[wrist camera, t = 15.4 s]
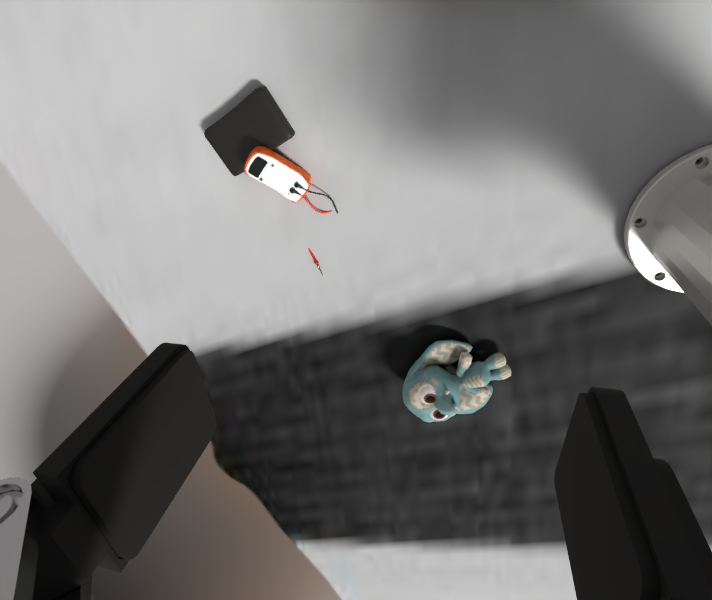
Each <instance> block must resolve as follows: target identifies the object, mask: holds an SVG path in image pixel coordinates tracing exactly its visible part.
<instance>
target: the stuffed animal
mask: <svg viewBox="0 0 712 600" xmlns="http://www.w3.org/2000/svg"><path fill="white" fill-rule="evenodd" d="M472 348H473V347H472V345H470V344H468V343H466V342H461V341H456V340H440V341H436V342H434V343H433V344H431V345H430V346H428V348H427V349H426V350H425V352H424V353H423V354H422V355H421V357H419V358H418V359H417V360H416V361H415V363H414V364H413V365H412V367H411V368H410V369H409V372H408V374H407V377H406V379H405V382H404V385H403V401H404V403H405V405H406V406H407V408H408V409H409V410H410V411H411V412H412V413H414V414H415V415H416V416H418V417H419V418H421V419H422V420H423V421H425V422H433V421H445V420H447V419H448V418H450V417H452V416H454V415H455V414H468V413H474V412H476V411H477V410H479V409H480V408H482V407H483V406H484V405H485V404H486V403H487V401H488V400H489V398H490V397H491V395H492V392H493V387H492V385H491V384H490V383H489V382H490V381H491V380H503V379H506V378H508V377H510V376H511V369H510V367H509V366H508V365H507V364H506V358H505V356H504V355H503V354H502V353H500V352H498V353H494V354H492V355H491V356H489V357H488V358H487V359H486V360H485V361H483V362H480V361H477V362H473V363H471V361H472V356H471V355H470V354H469V352H470V351H471V350H472ZM458 360H459V362H458V368H457V371H456V374H457V375H452V374H449V373H448V372H447V371H446V370H444V369H443V368H441V367H440V366H439V365H450V364H452V363H454V362H456V361H458ZM490 369H494V370H493V371H489V370H490Z"/></svg>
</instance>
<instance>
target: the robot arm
mask: <svg viewBox="0 0 712 600" xmlns="http://www.w3.org/2000/svg"><path fill="white" fill-rule="evenodd" d="M699 158H700V160H699V162H697V163H695V162H696V161H697V159H699ZM639 218H640V220H639V221H636V220H637V219H639ZM635 221H636V222H635ZM624 243H625V249H626V252H627V254H628V257H629V259H630V261H631V262H632V263H633V265H634V267H635V268H636V269H637V270H638V271H639V272H640V273H641V275H642V276H643V277H644V278H646V279H647V280H649V281H650V282H651V283H653V284H655V285H657V286H660V287H662V288H665V289H667V290H672V291H676V292H681V293H685V294H686V295H687V296H688V298H689V299H690V300H691V301H692V302H693V304H694V305H695V306H696V307H697V308H698V309H699V311H700V312H701V313H702V314H703V315H704V317H705V318H706V319H707V320H708V321H709V322H710V324H711V325H712V144H710V145H707V146H704V147H701V148H698V149H696V150H694V151H692V152H690V153H688V154H686V155H684V156H682V157H680V158H678V159H677V160H675V161H674V162H672V163H671V164H669V165H668V166H666V167H665V168H663V169H662V170H661V171H660V172H659V173H658V174H657V175H656V176H654V177H653V178H652V179H651V180H650V181H649V182H648V183H647V185H646V186H645V187H644V188H643V189H642V191H641V192H640V193H639V194H638V196H637V198H636V199H635V201H634V203H633V204H632V206H631V208H630V210H629V213H628V216H627V219H626V222H625V229H624ZM656 273H657V274H656ZM215 430H216V419H215V416H214V413H213V410H212V407H211V404H210V401H209V398H208V395H207V392H206V389H205V386H204V383H203V380H202V377H201V374H200V371H199V368H198V365H197V362H196V358H195V355H194V353H193V352H192V351H190V350H189V348H188V347H187V346H186V345H182V344H172V343H162V344H161V345H159V346H158V347H157V348H156V349H155V350H154V351H153V352H152V353H151V354H150V355H149V356H148V357H147V358H146V359H145V360H144V361H143V362H142V363H141V364H140V365H139V366H138V367H137V368H136V369H135V370H134V371H133V372H132V373H131V374H130V375H129V376H128V377H127V378H126V379H125V380H124V381H123V382H122V383H121V384H120V385H119V386H118V388H116V389H115V390H114V391H113V392H112V393H111V394H110V396H108V397H107V398H106V399H105V400H104V401H103V402H102V403H101V405H99V406H98V407H97V409H95V410H94V412H92V413H91V414H90V415H89V416H88V417H87V419H86V420H85V421H84V422H83V423H82V424H81V425H80V426H79V427H78V428H77V429H76V430H75V431H74V432H73V433H72V434H71V435H70V436H69V437H68V438H67V439H66V440H65V441H64V442H63V443H62V444H61V445H60V446H59V447H58V448H57V449H56V450H55V451H54V452H53V453H52V454H51V455H50V456H49V457H48V458H47V459H46V460H45V461H44V462H43V463H42V464H41V465H40V466H39V467H38V468H37V469H36V470H35V471H34V472H33V473H34V475H35V476H36V478H37V479H36V480H35V481H34V482H33V483H32V484H31V485H30V483H29V482H28V481H27V480H25V479H22V478H7V479H3V480H0V600H91V579H92V573H93V572H94V571H95V569H96V568H97V566H98V565H100V566H101V567H102V568H105V569H110V570H114V571H118V572H122V570H123V569H124V567H125V566H126V564H127V563H128V561H129V560H130V559H132V558H134V557H135V556H137V555H138V553H139V552H140V550H141V549H142V547H143V546H144V544H145V543H146V541H147V539H148V538H149V536H150V534H151V533H152V531H153V530H154V528H155V527H156V525H157V524H158V522H159V521H160V519H161V517H162V516H163V514H164V513H165V511H166V510H167V508H168V506H169V505H170V503H171V502H172V500H173V499H174V497H175V495H176V494H177V492H178V491H179V489H180V487H181V486H182V484H183V483H184V481H185V479H186V478H187V476H188V475H189V473H190V472H191V470H192V469H193V467H194V465H195V464H196V462H197V461H198V459H199V458H200V456H201V454H202V453H203V451H204V450H205V448H206V446H207V445H208V443H209V442H210V440H211V439H212V437H213V435H214V433H215ZM555 489H556V494H557V499H558V504H559V509H560V515H561V520H562V525H563V530H564V535H565V540H566V545H567V550H568V555H569V560H570V565H571V571H572V576H573V581H574V586H575V591H576V596H577V600H712V552H711V549H710V547H709V545H708V543H707V541H706V539H705V537H704V535H703V533H702V531H701V528H700V526H699V524H698V522H697V520H696V518H695V516H694V514H693V512H692V509H691V507H690V505H689V503H688V501H687V499H686V497H685V495H684V493H683V491H682V488H681V486H680V484H679V482H678V480H677V478H676V476H675V474H674V472H673V470H672V469H671V467H670V465H669V464H668V463H667V462H666V461H664V460H661V459H656V458H653V457H652V454H651V452H650V450H649V448H648V445H647V443H646V441H645V439H644V436H643V434H642V432H641V429H640V427H639V425H638V423H637V420H636V418H635V416H634V414H633V411H632V409H631V407H630V405H629V402H628V400H627V398H626V396H625V394H624V392H623V391H621V390H615V389H606V388H596V387H591V388H590V389H589V391H588V393H580V394H579V396H578V399H577V402H576V405H575V408H574V412H573V415H572V418H571V422H570V425H569V428H568V431H567V435H566V438H565V441H564V444H563V448H562V451H561V454H560V458H559V461H558V464H557V467H556V471H555Z"/></svg>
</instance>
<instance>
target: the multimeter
mask: <svg viewBox="0 0 712 600" xmlns="http://www.w3.org/2000/svg"><path fill="white" fill-rule="evenodd" d="M294 134H295V132H294V130H293V128H292V127H291V125H290V124H289V122H288V121H287V119H286V117H285V116H284V114H283V113H282V111H281V110H280V108H279V106H278V105H277V103H276V102H275V100H274V99H273V97H272V95H271V94H270V92H269V91H268V89H267V88H266V87H265V86H263V87H259V88H257V89H255V90H254V91H253V92H252V93H251V94H249V95H248V96H247V97H246V98H245V99H244V100H243V101H242V102H241V103H240V104H238V105H237V106H236V107H235V108H234V109H232V110H231V111H230V112H229V113H227V114H226V115H225V116H224V117H222V118H221V119H220V120H218V121H217V122H216V123H214V124H213V125H212V126H210V127H209V128H207V129H206V131H205V133H204V135H205V137H206V138H207V140H208V141H209V143H210V144H211V145H212V147H213V148H214V150H215V151H216V152H217V154H218V155H219V157H220V158H221V159H222V161H223V162H224V164H225V165H226V166H227V168H228V169H229V171H230V172H231V173H232V175H234V176H237V175H239V174H241V173H243V172H245V173H246V174H247V175H249V176H251V177H253V178H254V179H256V180H258V181H260V182H262V183H264V184H266V185H268V186H269V187H271V188H273V189H275V190H276V191H278V192H279V193H281V194H282V195H283V196H284V197H286V198H288V199H290V200H291V201H292V202H295V203H296V202H298V201H299V200H301V199H302V198H304V199H305V200H306V201H307V202H308V203H309V205H310V206H311V207H312V208H313V209H314V210H315V211H317V212H320V213H328V212H331V211H332V210H331V211H327V212H321V211H318V210H316V209H315V208H314V207H313V206H312V205H311V204H310V202H309V201H308V200H307V199H306V198H305V197H304V196H305V195H306V193H307V192H310V193H314V194H319V195H324V196H326V197H328V198H329V199H330V200H331V201H332V203H333V205H334V207H335V209H336V206H335V204H334V202H333V200H332V199H331V198H330V197H329V196H327V195H325V194H321V193H316V192H311V191H308V190H309V187H310V182H311V176H310V174H309V173H308V172H307V171H305V170H304V169H302V168H300V167H299V166H297V165H295V164H294V163H292V162H290V161H289V160H287V159H286V158H284V157H282V156H281V155H279V154H278V153H276V152H274V151H272V150H273V149H275V148H276V147H278V146H279V145H281V144H283V143H284V142H286V141H287V140H289V139H291V138H292V137H293V136H294ZM336 212H337V213H338V211H337V209H336ZM308 249H309V248H308ZM309 252H310V253H311V255H312V257H313V259H314V261H315V264H316V265H317V267H318V268H319V269H320V266H319V264H318V262H317V260H316V258H315V256H314V255H313V253H312V252H311V250H310V249H309ZM320 271H321V270H320ZM321 273H322V272H321ZM322 275H323V274H322Z"/></svg>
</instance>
